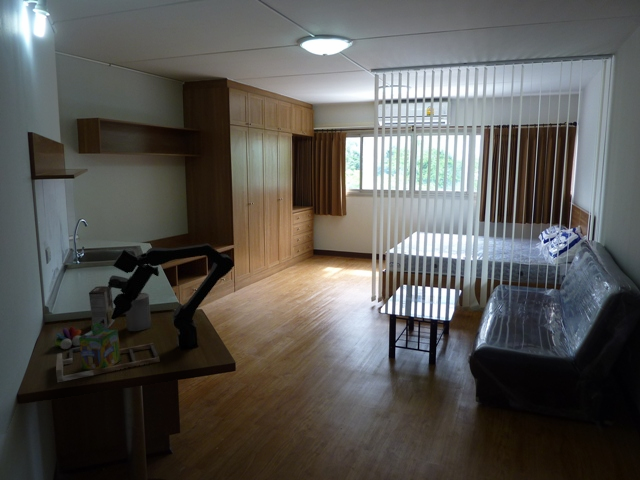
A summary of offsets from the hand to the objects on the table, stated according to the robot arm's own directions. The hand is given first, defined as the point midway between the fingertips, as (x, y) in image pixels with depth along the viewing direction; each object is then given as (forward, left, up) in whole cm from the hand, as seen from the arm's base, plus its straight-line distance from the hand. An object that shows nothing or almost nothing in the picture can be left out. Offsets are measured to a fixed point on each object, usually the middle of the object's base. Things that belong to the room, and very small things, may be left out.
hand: (115, 314), depth 171 cm
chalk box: (+6, +7, -15) cm, 18 cm away
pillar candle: (-10, -25, -15) cm, 30 cm away
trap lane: (+4, +2, -15) cm, 16 cm away
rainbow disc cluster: (+16, -18, -15) cm, 28 cm away
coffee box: (+3, -35, -15) cm, 38 cm away
